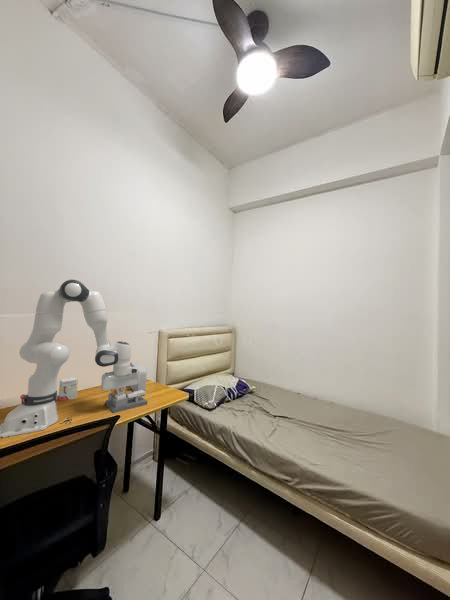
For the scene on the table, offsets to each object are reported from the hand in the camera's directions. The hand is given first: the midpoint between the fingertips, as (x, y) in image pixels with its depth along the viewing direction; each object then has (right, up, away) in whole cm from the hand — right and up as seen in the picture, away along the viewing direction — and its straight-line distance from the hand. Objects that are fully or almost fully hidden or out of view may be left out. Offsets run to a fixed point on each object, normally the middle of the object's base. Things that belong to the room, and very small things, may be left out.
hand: (120, 394), depth 134 cm
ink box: (-37, -7, +10) cm, 39 cm away
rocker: (+6, -2, +6) cm, 9 cm away
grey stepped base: (+1, -8, +6) cm, 10 cm away
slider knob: (0, -6, +11) cm, 12 cm away
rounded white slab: (-1, -9, +30) cm, 31 cm away
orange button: (-5, -3, +5) cm, 8 cm away
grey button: (0, -5, 0) cm, 5 cm away
